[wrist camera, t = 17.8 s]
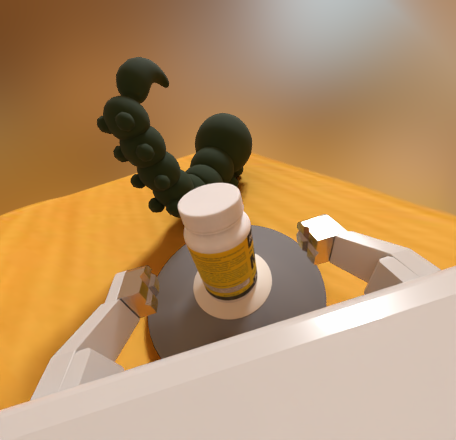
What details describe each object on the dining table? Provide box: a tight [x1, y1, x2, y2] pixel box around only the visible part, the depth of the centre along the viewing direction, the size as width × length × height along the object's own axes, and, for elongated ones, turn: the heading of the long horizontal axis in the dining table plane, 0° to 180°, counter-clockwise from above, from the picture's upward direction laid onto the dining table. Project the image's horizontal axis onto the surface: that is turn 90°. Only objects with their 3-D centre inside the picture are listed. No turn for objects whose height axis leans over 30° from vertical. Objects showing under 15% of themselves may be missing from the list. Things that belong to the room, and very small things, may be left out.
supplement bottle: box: [178, 183, 257, 303], centre depth 14 cm, size 5×5×8 cm
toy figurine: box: [97, 57, 252, 218], centre depth 26 cm, size 9×19×25 cm
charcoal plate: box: [148, 225, 326, 359], centre depth 16 cm, size 15×15×1 cm
